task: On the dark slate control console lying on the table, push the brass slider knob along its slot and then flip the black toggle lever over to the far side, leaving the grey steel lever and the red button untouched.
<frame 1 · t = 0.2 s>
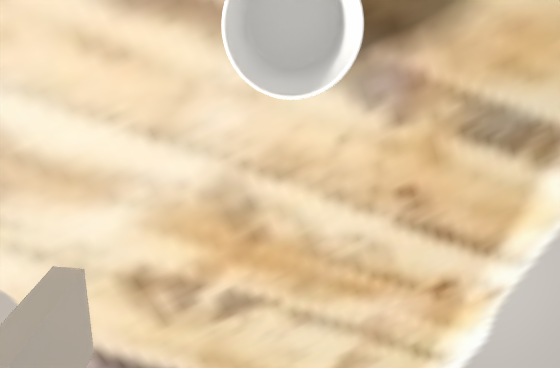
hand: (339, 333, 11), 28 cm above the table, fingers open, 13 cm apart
mug: (309, 3, 34), on the table
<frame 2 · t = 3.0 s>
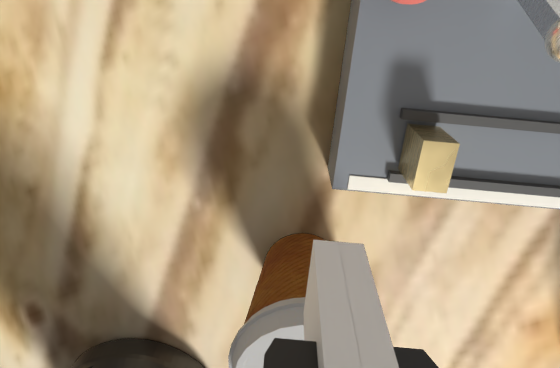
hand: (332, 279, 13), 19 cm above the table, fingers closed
steel lever: (555, 16, 21), point 8 cm above the table, hinge at 25.0°
console: (487, 72, 29), on the table
brass slider: (426, 157, 25), point 6 cm above the table, slide at 0.0 cm
disposable coffee cup: (301, 264, 36), on the table
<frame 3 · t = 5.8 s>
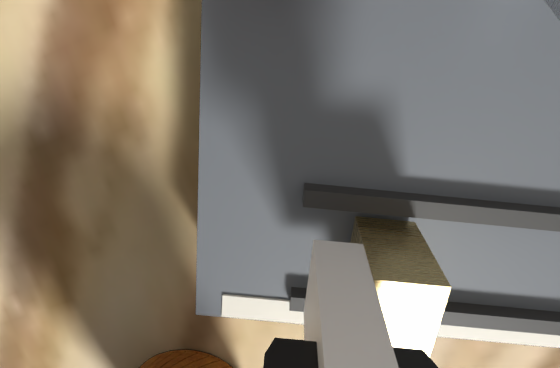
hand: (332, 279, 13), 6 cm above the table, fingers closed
console: (469, 110, 17), on the table
brass slider: (387, 288, 13), point 6 cm above the table, slide at 1.3 cm, touching gripper
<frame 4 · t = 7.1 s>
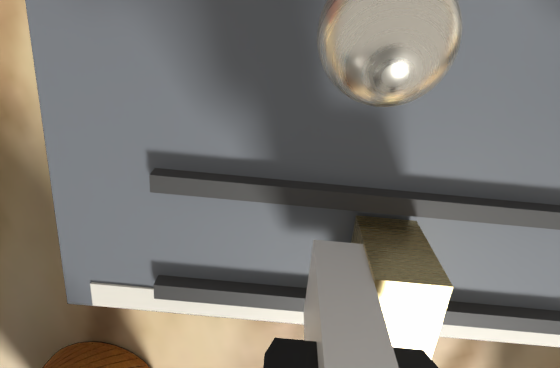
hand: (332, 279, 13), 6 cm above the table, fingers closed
console: (348, 96, 17), on the table
brass slider: (388, 288, 13), point 6 cm above the table, slide at 6.2 cm, touching gripper
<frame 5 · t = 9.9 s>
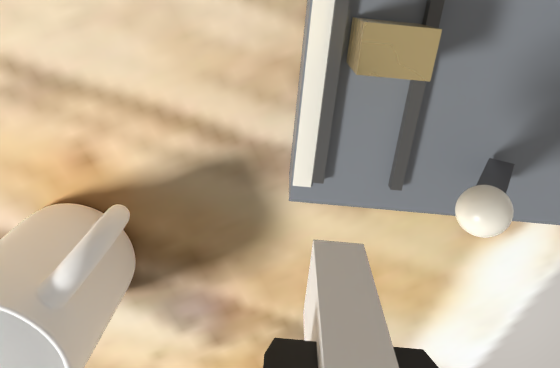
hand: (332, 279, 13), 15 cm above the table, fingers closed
console: (451, 19, 23), on the table
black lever: (489, 194, 19), point 8 cm above the table, hinge at 30.0°
brass slider: (389, 47, 18), point 6 cm above the table, slide at 6.2 cm
mug: (97, 233, 30), on the table
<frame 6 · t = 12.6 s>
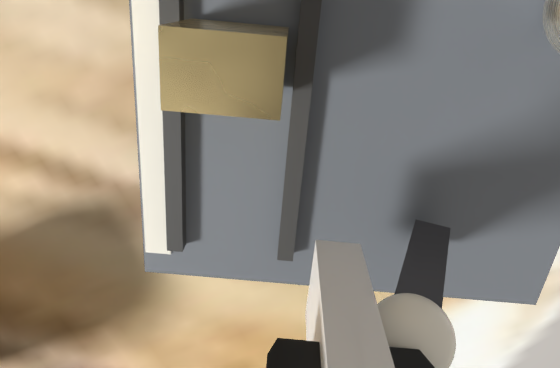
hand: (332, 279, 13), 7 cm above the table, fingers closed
console: (365, 21, 17), on the table
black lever: (418, 290, 13), point 8 cm above the table, hinge at 21.3°, touching gripper
brass slider: (231, 64, 12), point 6 cm above the table, slide at 6.2 cm
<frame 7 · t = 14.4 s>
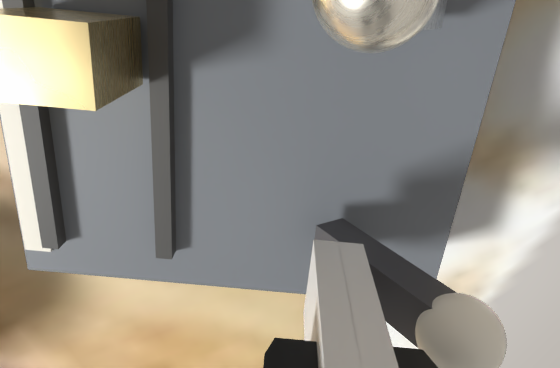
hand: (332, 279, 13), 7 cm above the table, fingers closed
console: (253, 14, 17), on the table
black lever: (396, 290, 13), point 7 cm above the table, hinge at -35.8°, touching gripper
brass slider: (64, 53, 11), point 6 cm above the table, slide at 6.2 cm
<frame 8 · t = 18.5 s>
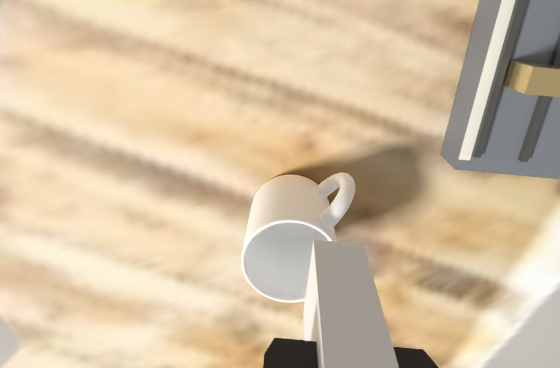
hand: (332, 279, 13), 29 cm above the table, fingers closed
console: (555, 58, 38), on the table
brass slider: (536, 78, 33), point 6 cm above the table, slide at 6.2 cm
mug: (303, 196, 45), on the table
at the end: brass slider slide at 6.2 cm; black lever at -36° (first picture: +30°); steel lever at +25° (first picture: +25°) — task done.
